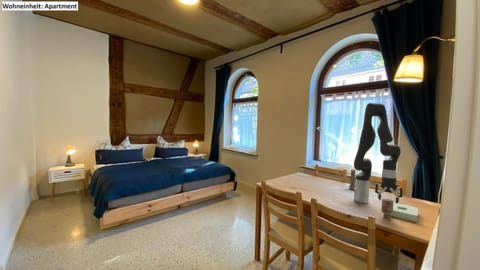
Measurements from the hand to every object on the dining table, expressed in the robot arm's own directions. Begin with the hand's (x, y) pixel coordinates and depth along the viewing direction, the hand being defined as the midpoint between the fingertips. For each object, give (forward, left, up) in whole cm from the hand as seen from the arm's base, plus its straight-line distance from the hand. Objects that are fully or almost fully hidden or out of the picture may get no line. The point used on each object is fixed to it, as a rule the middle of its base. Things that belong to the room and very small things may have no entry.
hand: (388, 201), depth 134 cm
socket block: (+7, +13, -11) cm, 18 cm away
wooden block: (-28, +51, -11) cm, 59 cm away
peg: (0, 0, -11) cm, 11 cm away
